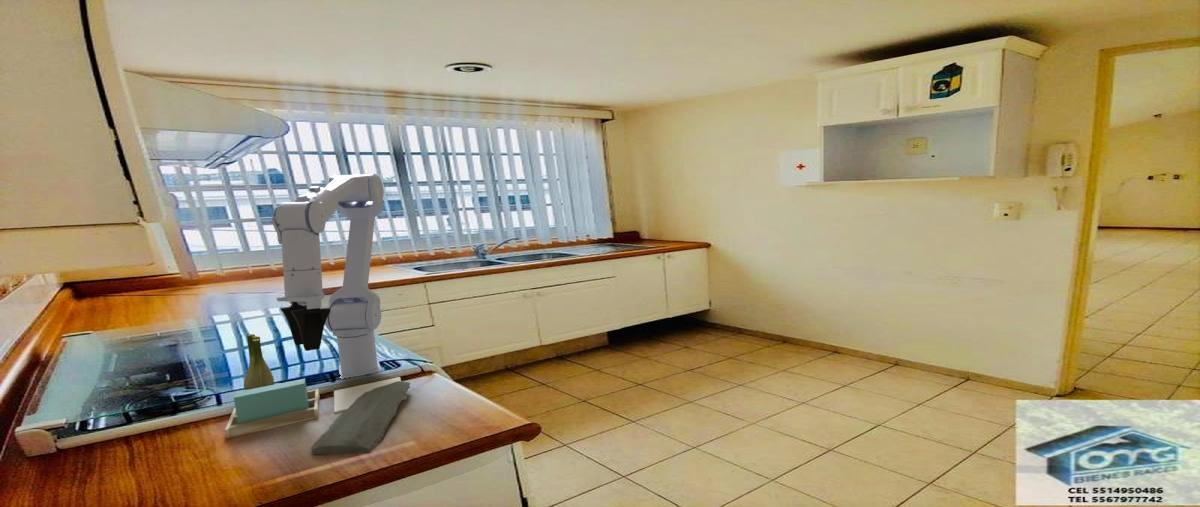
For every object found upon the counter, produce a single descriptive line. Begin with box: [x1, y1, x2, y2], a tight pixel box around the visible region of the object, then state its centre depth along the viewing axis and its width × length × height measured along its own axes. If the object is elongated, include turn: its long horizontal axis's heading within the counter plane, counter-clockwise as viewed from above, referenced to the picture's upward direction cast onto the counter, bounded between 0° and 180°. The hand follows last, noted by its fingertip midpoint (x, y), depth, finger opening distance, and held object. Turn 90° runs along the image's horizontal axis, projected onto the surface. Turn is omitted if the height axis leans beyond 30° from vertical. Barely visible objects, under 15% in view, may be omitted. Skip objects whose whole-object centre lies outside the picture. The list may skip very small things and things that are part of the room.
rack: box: [224, 388, 321, 440], centre depth 86 cm, size 10×13×2 cm
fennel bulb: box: [243, 333, 275, 390], centre depth 96 cm, size 6×5×12 cm
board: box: [233, 378, 309, 424], centre depth 83 cm, size 2×10×6 cm, turn 119°
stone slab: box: [310, 380, 411, 455], centre depth 83 cm, size 22×3×10 cm
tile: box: [333, 376, 407, 414], centre depth 93 cm, size 10×12×1 cm
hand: (307, 346), depth 85 cm, fingers open, 7 cm apart
